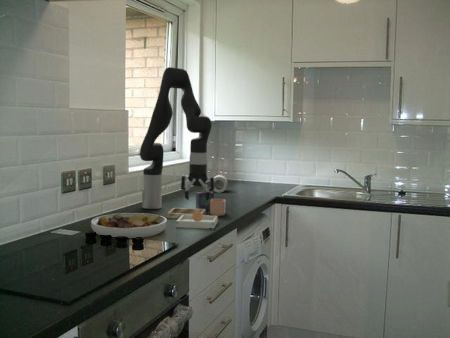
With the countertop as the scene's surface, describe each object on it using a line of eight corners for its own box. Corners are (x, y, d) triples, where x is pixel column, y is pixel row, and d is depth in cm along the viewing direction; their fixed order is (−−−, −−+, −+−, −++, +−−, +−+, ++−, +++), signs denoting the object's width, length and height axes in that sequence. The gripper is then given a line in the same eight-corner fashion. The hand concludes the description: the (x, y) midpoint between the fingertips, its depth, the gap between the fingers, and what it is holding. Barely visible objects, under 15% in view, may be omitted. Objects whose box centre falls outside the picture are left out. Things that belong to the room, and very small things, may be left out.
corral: (167, 217, 227) (167, 213, 227) (173, 212, 241) (173, 207, 241) (201, 219, 225) (201, 214, 225) (205, 213, 239) (205, 209, 239)
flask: (196, 210, 247) (196, 189, 246) (195, 209, 249) (195, 188, 248) (214, 209, 250) (214, 189, 248) (212, 208, 252) (212, 188, 251)
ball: (191, 222, 212) (191, 212, 212) (193, 220, 217) (193, 210, 216) (201, 222, 212) (201, 212, 212) (203, 220, 216) (203, 210, 216)
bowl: (98, 224, 213) (98, 206, 212) (168, 224, 215) (168, 206, 214) (83, 241, 183) (83, 220, 183) (164, 241, 185) (164, 220, 185)
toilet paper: (211, 190, 318) (212, 174, 317) (227, 190, 318) (227, 175, 316) (210, 192, 308) (211, 176, 307) (226, 192, 308) (227, 177, 307)
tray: (176, 227, 208) (176, 220, 208) (182, 220, 222) (182, 214, 222) (213, 228, 207) (213, 222, 207) (217, 221, 221) (217, 215, 220)
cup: (209, 215, 235) (209, 201, 234) (211, 212, 242) (211, 198, 241) (224, 216, 234) (224, 201, 233) (225, 213, 241) (225, 199, 240)
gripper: (180, 163, 209) (179, 200, 211) (213, 164, 207) (212, 202, 209) (183, 161, 216) (182, 197, 218) (215, 162, 215) (214, 199, 217)
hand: (197, 199), depth 214 cm, fingers open, 8 cm apart
